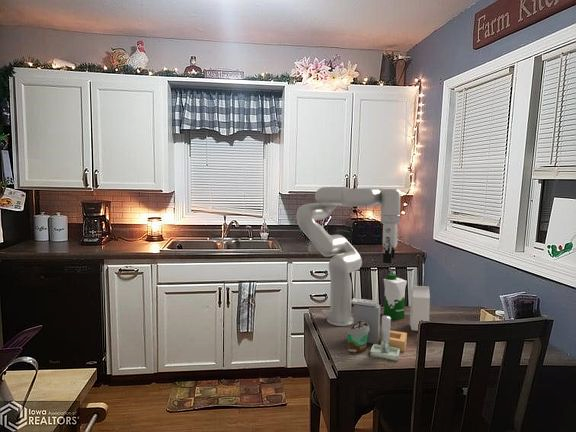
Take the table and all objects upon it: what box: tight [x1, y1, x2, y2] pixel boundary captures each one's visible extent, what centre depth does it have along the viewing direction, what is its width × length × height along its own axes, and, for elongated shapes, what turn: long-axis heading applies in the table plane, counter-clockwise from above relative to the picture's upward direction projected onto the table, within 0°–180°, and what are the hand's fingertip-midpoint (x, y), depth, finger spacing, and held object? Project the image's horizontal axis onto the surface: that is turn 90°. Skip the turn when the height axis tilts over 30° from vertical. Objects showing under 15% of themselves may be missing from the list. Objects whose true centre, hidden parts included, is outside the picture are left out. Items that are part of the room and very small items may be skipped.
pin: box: [380, 315, 392, 354], centre depth 144 cm, size 3×3×14 cm
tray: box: [369, 344, 401, 362], centre depth 145 cm, size 10×7×2 cm
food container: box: [346, 319, 370, 354], centre depth 148 cm, size 12×6×10 cm, turn 148°
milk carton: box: [409, 285, 431, 332], centre depth 169 cm, size 7×7×19 cm
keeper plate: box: [351, 297, 379, 307], centre depth 156 cm, size 10×4×1 cm, turn 67°
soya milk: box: [382, 273, 408, 321], centre depth 183 cm, size 9×9×20 cm
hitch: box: [352, 304, 408, 353], centre depth 154 cm, size 20×9×15 cm, turn 67°
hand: (388, 260), depth 158 cm, fingers open, 9 cm apart
